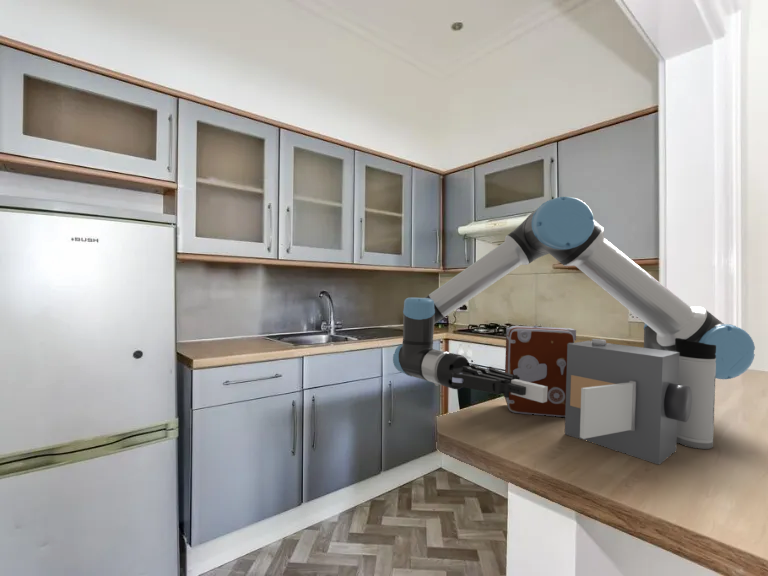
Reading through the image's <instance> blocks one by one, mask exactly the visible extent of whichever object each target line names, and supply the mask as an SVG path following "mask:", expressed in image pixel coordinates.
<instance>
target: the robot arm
mask: <svg viewBox="0 0 768 576" xmlns="http://www.w3.org/2000/svg"><path fill="white" fill-rule="evenodd" d="M594 218H595V217H594V214H593V212H592V209H591V208H590V207H589V205H587V204H586V202H583V200H581V199H579V198H576V197H572V196H560V197H559V196H558V197H554V198H552V199H549V200H547V201H546V202H543V203H542V204H541V205H540V206H539V207H537V208H536V209H535V210H534V211H532V212H531V213H530V214H529V215H528V216H527V217H526V218H525V219H524V220H523V221H522V222H521V223H520V224H519V225H518V226H517V227H516V228H515V229H513V230H512V231H511V232H510V233H509V234H507V235H506V236H505V237H504V238H505V239H504V242H502V243H500V244H499V245H498V246H496V247H495V248H493V249H492V250H490V251H489V252H488V253H486V254H485V255H483V256H482V257H480V258H479V259H477V260H476V261H475V262H473V263H472V264H471V265H469V266H468V267H466V268H465V269H463V270H462V271H461V272H459V273H458V274H455V276H454V277H452V278H450V279H449V280H448V281H446V282H445V283H444V284H442V285H441V286H439V287H438V288H436V289H435V290H433V291H432V292H430V293H429V294H428V295H426V296H425V297H407V298H405V299H404V301H403V310H402V313H403V317H402V319H403V321H402V323H403V325H402V344H399V345H398V346H397V347H396V348H395V350H394V353H393V356H392V362H393V363H392V364H393V366H394V368H395V369H396V370H397V371H398V372H400V373H402V374H404V375H406V376H409V377H410V378H411V377H412V378H416V379H419V380H420V379H421V380H424V381H426V382H430V383H434V385H435V386H437V387H438V386H439V385H440V386H444V387H446V388H450V389H452V390H459V389H461V388H464V389H465V388H467V389H471V390H475V391H480V392H483V393H484V392H485V393H490V394H493V395H501V394H502V393H503V398H504V399H505V398H509V392H511V394H512V395H516V396H520V397H523V398H527V399H530V400H534V401H538V402H541V403H544V402H547V391H548V387H547V386H543V385H539V384H535V383H530V382H526V381H522V380H520V377H518V375H512V374H509V373H506V372H505V371H503V370H499V369H495V368H494V367H493V366H488V367H486V368H484V367H480V366H479V365H477V364H470V363H469V361H468V359H467V357H466V356H464V355H462V354H458V353H454V352H452V353H451V352H449V351H444V350H439V349H434V332H435V331H434V330H435V329H434V328H435V324H437V323H438V322H440V321H441V320H443V319H444V318H445V317H446V316H448V315H450V314H451V313H453V312H454V311H455V310H458V309H459V308H460V307H461V306H463V305H464V304H466V303H467V302H468V301H470V300H471V299H473V298H474V297H476V296H478V295H479V294H480V293H482V292H483V291H485V290H486V289H488V288H490V286H492V285H493V284H495V283H496V282H498V281H499V280H501V279H502V278H503V277H505V276H507V275H508V274H509V273H511V272H513V271H515V269H517V268H518V267H520V266H521V265H525V266H528V265H529V264H531V263H532V262H534V261H536V260H537V259H539V258H541V257H542V258H543V257H544V256H546V255H550V256H552V258H554V259H555V260H556V261H558V262H559V263H561V265H562V266H564V267H571V266H572V267H576V268H577V269H578V270H579V271H580V272H581V273H583V274H584V275H586V276H587V277H588V278H589V279H590V280H592V281H593V282H594V283H595V284H597V286H599V287H600V288H602V290H604V291H605V292H606V293H608V294H609V295H610V296H611V297H613V299H615V300H616V301H617V302H619V303H620V304H621V305H622V306H623V307H625V308H626V309H627V310H628V311H629V312H630V313H632V314H633V315H634V316H635V317H637V318H638V319H639V320H641V322H643V323H644V326H643V348H650V349H658V350H666V351H674V352H675V350H676V349H675V339H676V338H681V339H687V341H694V342H700V343H704V344H710V345H716V353H715V355H716V361H715V362H716V376H715V380H731V379H735V378H737V377H739V376H741V375H742V374H744V373H745V372H747V370H749V368H750V367H751V366H752V364H753V361H754V360H755V356H756V355H755V349H756V347H755V343H754V340H753V338H752V337H751V335H750V334H749V333H748V332H747V331H746V330H745V329H743V328H741V327H738V326H736V325H733V324H729V323H728V324H727V323H724V322H722V321H721V320H719V319H718V318H717V317H716V316H714V315H713V313H711V312H709V311H708V310H707V309H706V308H704V307H702V306H697V305H696V306H694V305H693V306H690V305H689V304H687V303H686V302H685V301H684V300H682V299H681V298H679V296H677V295H676V294H675V293H674V292H672V291H671V290H669V289H668V288H667V287H666V286H665V285H663V284H662V283H661V282H660V281H658V280H657V279H656V278H655V277H654V276H652V275H651V274H650V273H649V272H647V271H646V270H645V269H644V268H642V267H641V266H640V265H639V264H637V263H636V262H635V261H634V260H632V259H631V258H629V256H628V255H626V254H625V253H624V252H623V251H621V250H620V249H619V248H617V246H615V245H614V244H613V243H611V242H610V241H608V239H606V238H605V236H604V232H605V231H604V227H603V225H600V223H598V222H597V221H596V220H595V219H594Z"/></svg>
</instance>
